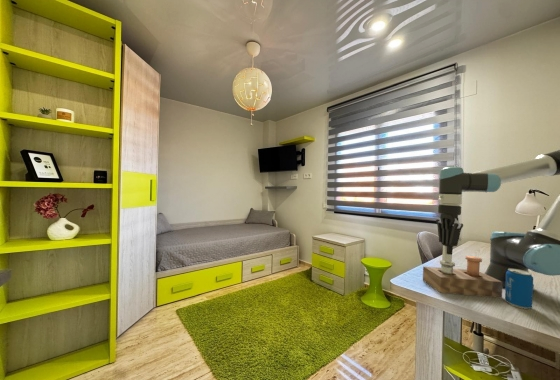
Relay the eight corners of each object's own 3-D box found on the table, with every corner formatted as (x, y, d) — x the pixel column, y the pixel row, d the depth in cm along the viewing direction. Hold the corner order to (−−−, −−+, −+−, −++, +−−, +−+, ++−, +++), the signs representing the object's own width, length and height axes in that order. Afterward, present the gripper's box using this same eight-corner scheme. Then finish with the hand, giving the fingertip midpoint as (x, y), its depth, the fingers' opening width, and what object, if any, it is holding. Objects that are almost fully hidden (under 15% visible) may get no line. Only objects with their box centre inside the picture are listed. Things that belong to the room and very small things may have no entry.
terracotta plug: (474, 273, 90) (475, 256, 90) (484, 278, 85) (485, 259, 85) (461, 272, 91) (462, 255, 91) (471, 277, 86) (471, 259, 86)
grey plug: (448, 277, 91) (449, 260, 91) (457, 282, 86) (458, 264, 86) (436, 276, 92) (437, 259, 92) (444, 281, 87) (444, 263, 87)
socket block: (476, 284, 93) (476, 270, 93) (501, 297, 81) (502, 282, 81) (422, 279, 95) (423, 266, 95) (440, 292, 83) (440, 277, 83)
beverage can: (499, 299, 80) (501, 267, 80) (517, 300, 79) (519, 268, 79) (518, 309, 73) (519, 274, 73) (538, 310, 73) (539, 275, 73)
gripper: (430, 203, 96) (428, 255, 96) (450, 205, 83) (447, 266, 83) (448, 204, 95) (445, 257, 95) (471, 206, 82) (468, 267, 82)
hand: (446, 261), depth 89 cm, fingers closed
